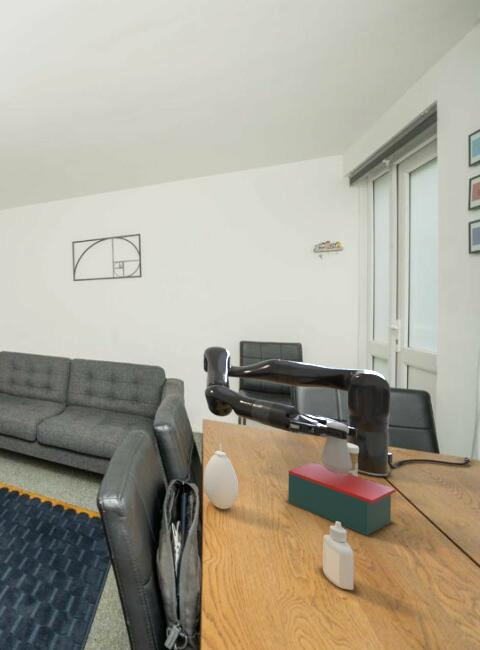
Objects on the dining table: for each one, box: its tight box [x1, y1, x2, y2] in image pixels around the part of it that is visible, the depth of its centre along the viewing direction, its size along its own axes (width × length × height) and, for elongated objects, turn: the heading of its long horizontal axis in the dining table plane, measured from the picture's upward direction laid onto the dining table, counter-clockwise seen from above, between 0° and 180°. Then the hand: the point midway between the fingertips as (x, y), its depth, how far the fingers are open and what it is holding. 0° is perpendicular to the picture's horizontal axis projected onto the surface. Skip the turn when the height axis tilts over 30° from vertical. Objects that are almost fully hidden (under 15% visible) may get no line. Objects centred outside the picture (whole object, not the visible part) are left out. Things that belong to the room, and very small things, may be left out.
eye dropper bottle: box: [322, 521, 355, 591], centre depth 72 cm, size 4×6×12 cm
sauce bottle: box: [203, 442, 239, 510], centre depth 98 cm, size 8×8×18 cm
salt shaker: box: [320, 421, 352, 475], centre depth 95 cm, size 6×6×13 cm
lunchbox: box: [287, 473, 392, 536], centre depth 95 cm, size 16×13×8 cm
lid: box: [288, 461, 397, 503], centre depth 95 cm, size 16×13×1 cm
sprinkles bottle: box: [347, 443, 359, 477], centre depth 107 cm, size 5×5×14 cm
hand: (351, 434), depth 93 cm, fingers closed on salt shaker, 4 cm apart
